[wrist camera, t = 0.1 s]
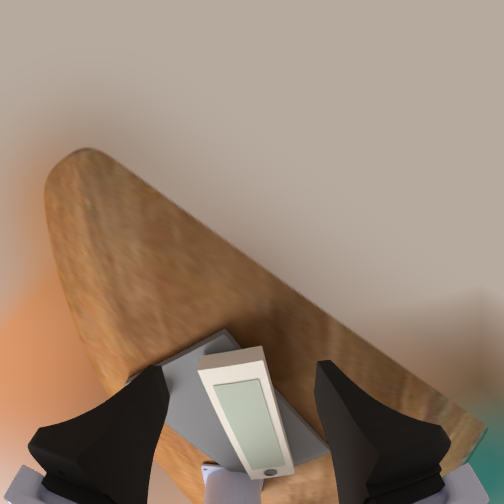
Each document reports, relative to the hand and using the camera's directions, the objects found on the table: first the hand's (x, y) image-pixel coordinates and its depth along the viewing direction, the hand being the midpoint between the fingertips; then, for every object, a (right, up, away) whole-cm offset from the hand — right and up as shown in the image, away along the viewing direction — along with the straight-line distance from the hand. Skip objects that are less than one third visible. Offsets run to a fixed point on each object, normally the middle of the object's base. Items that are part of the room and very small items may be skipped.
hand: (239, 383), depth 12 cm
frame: (+1, -10, +12) cm, 16 cm away
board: (-1, -12, +13) cm, 18 cm away
